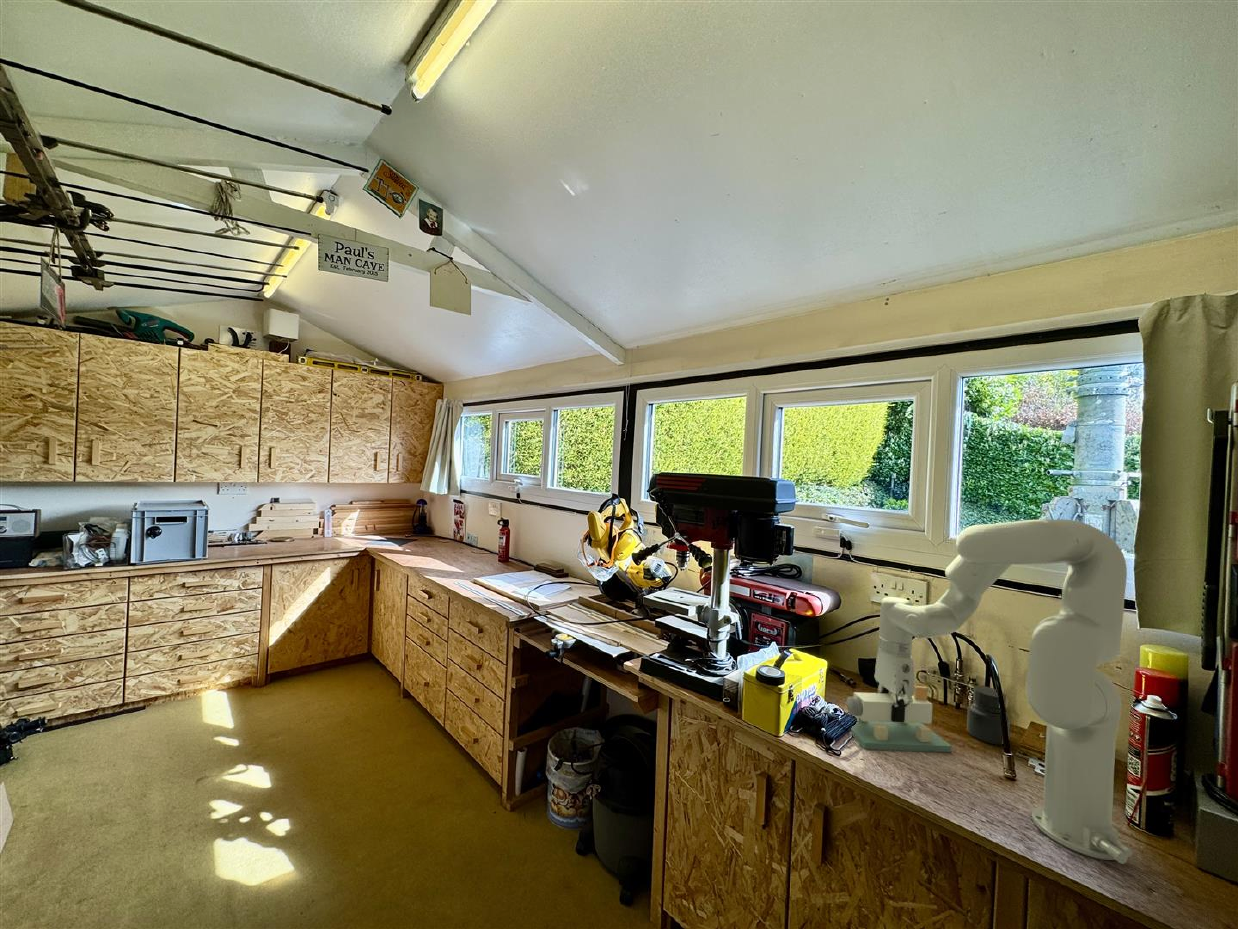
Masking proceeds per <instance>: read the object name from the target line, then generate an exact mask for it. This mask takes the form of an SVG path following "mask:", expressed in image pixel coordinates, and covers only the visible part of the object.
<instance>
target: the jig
mask: <svg viewBox="0 0 1238 929" xmlns="http://www.w3.org/2000/svg"><path fill="white" fill-rule="evenodd" d="M855 717H856V718H857V722H856V724H855V725H854V726H852V728H851V730H852V735H853V737H854V738H853V737H852V738H853V739H854V740H855V741H856V742H857V743H858V744H859V746H861V747H862V748H863V750H876V749H877V750H879V751H881V750H882V751H909V752H935V753H936V752H937V753H952V745H951V744H949V743H948V742H947V741H946V740H944V739H943V738H942V737H941V736H939V735H938V734H937V733H936V732H934V731H932V730H931V729H930V727H928V726H927V725H925V723H901V722H875V721H863V720H862V719H860V718H859V717H858V716H855Z"/></svg>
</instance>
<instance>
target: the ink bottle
mask: <svg viewBox="0 0 1238 929" xmlns="http://www.w3.org/2000/svg"><path fill="white" fill-rule="evenodd" d="M996 690H997V689H995V688H992V687H989V686H983V685H975V686H973V694H972V695H973V698H972V700H973V703H971V704H969V705H968V706H967V716H966V717H967V719H966V731H967V733H968V734H970V735H971V736H973V737H974V738H976V739H978V740H980V741H981V742H984V743H986V744H992V745H994V746H1003V745H1002V728H1001V719H1000V708H999V697H998V694H997V692H996ZM1001 692H1002V693H1003V697H1004V702H1005V705H1006V702H1007V701H1006V700H1007V698H1006V697H1007V695H1006V694H1005V693H1004V692H1003V691H1001ZM1006 721H1007V726H1008V734H1009V737H1010V732H1011V731H1010V729H1011V717H1010V716H1009V714H1007V713H1006Z"/></svg>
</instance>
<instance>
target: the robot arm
mask: <svg viewBox="0 0 1238 929" xmlns="http://www.w3.org/2000/svg"><path fill="white" fill-rule="evenodd" d="M955 546H956V551H957V552H958V555H957V556H956V557H955V558H954V559H953V560H952V562H950V564H949V565H948V566H946V568H945V571H944V574H945V577H946V579H947V580H948V582H949V583H950V584H949V586H948V588H947V589H946V591H945V592H944V594H943V595H941V597H940V598H939V599H938V600H937V601H936V602H935V603H933V604H925V605H923V604H922V605H914V604H913V602H912V601H910V600H908V599H905V598H902V597H897V596H885V597H882V599H881V601H880V615H879V616H880V617H879V627H878V628H879V629H878V630H879V631H878V633H879V634H878V647H877V648H878V649H877V654H876V659H875V661H876V662H875V668H874V671H875V672H874V675H873V676H874V679H875V682H876V686H877V693H884V694H893V702H894V705H892V713H891V720H892V721H893V722H904V721H905V708H907V705H909V704H910V703H912V702H913V699H912V696H913V695H914V686H915V666H914V665H915V664H914V660H913V656H912V648H913V637H914V638H918V639H930V638H935V637H942V636H947V635H951V634H953V633H955V632H956V631H958V630H959V629H960V628H961V627H962V626H963V625H964V624H965V623H967V621H968V620H969V619H970V618H971V617H972V616H973V615H974V614H975V612H976V611H977V610H978V607H979V606H980V603H981V601H982V598H983V595H984V593H985V592H986V591H987V590H988V589H989V588H990V587H992V586H993V584H994V583H995V582H996V581H997V580H998V579H999V578H1000V577H1002V575H1003V574H1004V573H1005V572H1006V571H1007V570H1008V569H1009V568H1011V566H1012V565H1041V564H1042V565H1043V564H1045V565H1046V564H1048V565H1049V564H1059V563H1060V564H1063V563H1064V564H1066V565H1067V573H1066V576H1065V578H1064V581H1063V584H1062V589H1061V599H1060V606H1059V607H1060V608H1059V611H1058V614H1055V615H1051V616H1047V617H1045V618H1044V619H1042V620H1040V621H1039V622H1038V623H1037V624H1036V626H1035V628H1034V629H1033V632H1032V634H1031V638H1030V645H1029V652H1028V661H1027V670H1026V678H1025V693H1026V698H1027V702H1028V704H1029V705H1030V707H1031V709H1032V710H1033V712H1034V713H1035V714H1036V715H1037V717H1039V719H1040V720H1042V721H1043V722H1045V723H1047V724H1046V733H1045V734H1046V735H1045V749H1044V750H1045V752H1044V753H1045V754H1044V773H1043V774H1044V778H1043V779H1044V780H1043V799H1042V801H1043V802H1042V804H1043V805H1040V806H1037V807H1035V808H1034V807H1033V810H1032V811H1031V812H1032V814H1031V818H1032V821H1033V823H1034V824H1035V825H1036V827H1037V828H1038V829H1039V830H1040V831H1041V832H1042V833H1043V834H1045V835H1046V836H1047V837H1048V838H1050V839H1052V840H1053V841H1055V842H1056V843H1058V844H1060V845H1062V846H1064V847H1066V848H1068V849H1069V850H1072V851H1074V852H1077V853H1079V854H1082V855H1085V856H1088V857H1091V858H1095V859H1099V860H1105V861H1117V863H1120V864H1126V862H1128V858H1130V857H1131V856H1132V855H1133V851H1132V850H1131V849H1130V848H1129V847H1127V846H1126V845H1124V843H1122V842H1120V840H1119V839H1118V838H1119V830H1118V829H1117V828H1116V827H1114V826H1113V806H1114V805H1113V804H1114V803H1113V801H1114V778H1115V760H1116V744H1117V735H1118V731H1119V725H1120V720H1121V715H1122V699H1121V695H1120V693H1119V690H1118V688H1117V687H1116V686H1115V684H1114V683H1113V681H1111V680H1110V679H1109V677H1107V676H1106V675H1104V674H1103V673H1102V672H1100V671H1097V670H1098V666H1102V665H1105V664H1107V663H1110V662H1111V661H1113V660H1115V659H1116V658H1117V656H1118V655H1119V653H1120V650H1121V642H1122V629H1123V621H1124V620H1123V619H1124V613H1125V612H1124V610H1125V595H1126V589H1127V588H1126V586H1127V579H1128V578H1127V574H1128V572H1127V571H1128V570H1127V563H1126V558H1125V556H1124V553H1123V552H1122V549H1121V548H1120V546H1119V545H1118V544H1117V543H1116V541H1115V540H1114V539H1113V538H1111V536H1109V535H1108V534H1106V533H1105V532H1104V531H1102V530H1100V529H1099V528H1097V527H1095V526H1092V525H1090V524H1088V523H1085V522H1083V521H1082V522H1081V521H1079V520H1073V519H1062V518H1061V519H1060V518H1059V519H1058V518H1057V519H1052V518H1051V519H1047V518H1043V519H1040V518H1039V519H1038V518H1037V519H1028V520H1017V521H1007V522H997V523H985V524H974V525H970V526H967V527H966V528H964V529H963V530H962V531H960V533H959V534H958V536H957V537H956V541H955ZM898 696H899V697H901V699H900V700H899V701H898Z"/></svg>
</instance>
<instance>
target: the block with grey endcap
mask: <svg viewBox="0 0 1238 929" xmlns="http://www.w3.org/2000/svg"><path fill="white" fill-rule="evenodd" d="M900 699H901V697H899V696H898V701H899V700H900ZM912 699H913V702H912V703H910V704H909V705H907V708H905V721H904V722H901V723H922V724H927V725H928V724H932V721H933V720H932V719H933V703H931V701H929V700H928V687H927V686H924V685H923V686H921V685H914V695H913V696H912ZM845 704H846V708H847V709H846V710H847V711H848V714H849V715H852V716H858V717H859V718H860V719H862V720H863V721H875V722H893V721H892V720H891V713H892V705H894V702H893V693H890V694H884V693H878V692H860V691H859V692H856V691H855V692H853V696H848V697H847V698H846V702H845Z"/></svg>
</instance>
